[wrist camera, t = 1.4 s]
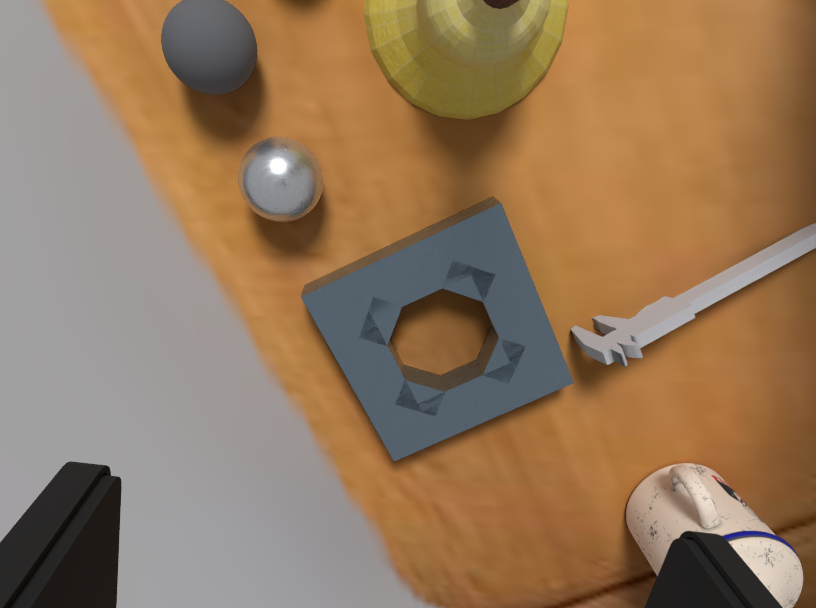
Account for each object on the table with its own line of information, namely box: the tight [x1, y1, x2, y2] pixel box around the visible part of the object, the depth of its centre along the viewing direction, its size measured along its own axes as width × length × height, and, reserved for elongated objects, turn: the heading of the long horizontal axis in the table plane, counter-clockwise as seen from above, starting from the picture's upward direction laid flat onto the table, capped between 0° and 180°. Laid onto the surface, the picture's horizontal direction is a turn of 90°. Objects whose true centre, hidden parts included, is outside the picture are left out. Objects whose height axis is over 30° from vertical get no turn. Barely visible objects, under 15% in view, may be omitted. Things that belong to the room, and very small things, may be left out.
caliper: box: [571, 223, 816, 367], centre depth 39 cm, size 20×1×6 cm, turn 114°
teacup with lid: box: [626, 463, 803, 608], centre depth 42 cm, size 12×9×12 cm
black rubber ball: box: [161, 0, 257, 95], centre depth 32 cm, size 5×5×5 cm
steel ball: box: [238, 137, 324, 222], centre depth 35 cm, size 5×5×5 cm
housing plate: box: [301, 197, 574, 461], centre depth 40 cm, size 14×14×2 cm
